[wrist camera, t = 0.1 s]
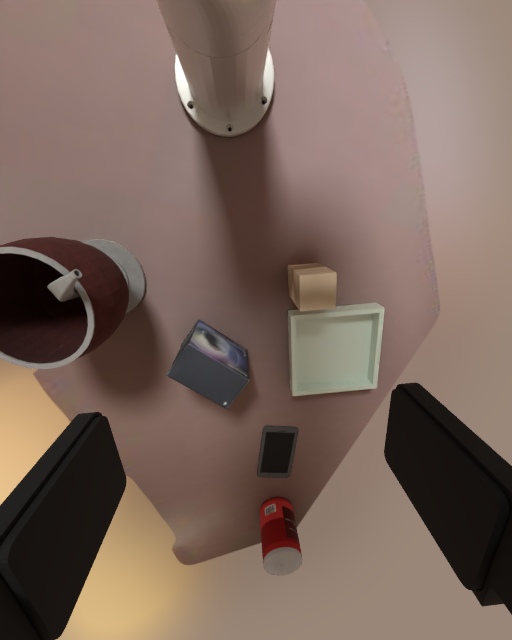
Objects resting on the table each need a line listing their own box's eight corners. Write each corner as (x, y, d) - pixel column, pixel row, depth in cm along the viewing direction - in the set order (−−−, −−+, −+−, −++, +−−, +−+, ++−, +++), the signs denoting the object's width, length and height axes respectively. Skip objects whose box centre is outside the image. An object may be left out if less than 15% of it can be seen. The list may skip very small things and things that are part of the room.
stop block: (287, 265, 44) (299, 275, 35) (318, 262, 44) (336, 272, 35) (288, 294, 45) (299, 311, 37) (317, 292, 46) (335, 308, 37)
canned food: (254, 516, 64) (257, 573, 53) (266, 493, 61) (272, 548, 51) (284, 521, 65) (293, 578, 55) (297, 499, 62) (308, 554, 52)
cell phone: (256, 474, 60) (256, 477, 59) (263, 424, 55) (263, 426, 54) (288, 475, 60) (289, 478, 60) (298, 425, 56) (299, 428, 55)
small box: (249, 348, 48) (252, 380, 39) (229, 374, 50) (227, 411, 40) (199, 317, 46) (188, 342, 36) (180, 345, 47) (164, 377, 38)
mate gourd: (102, 334, 46) (7, 411, 27) (39, 264, 41) (-126, 299, 23) (176, 287, 44) (129, 336, 25) (119, 209, 39) (10, 196, 21)
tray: (287, 310, 46) (290, 315, 43) (375, 302, 47) (384, 307, 44) (289, 386, 52) (292, 396, 49) (369, 379, 52) (376, 388, 49)
